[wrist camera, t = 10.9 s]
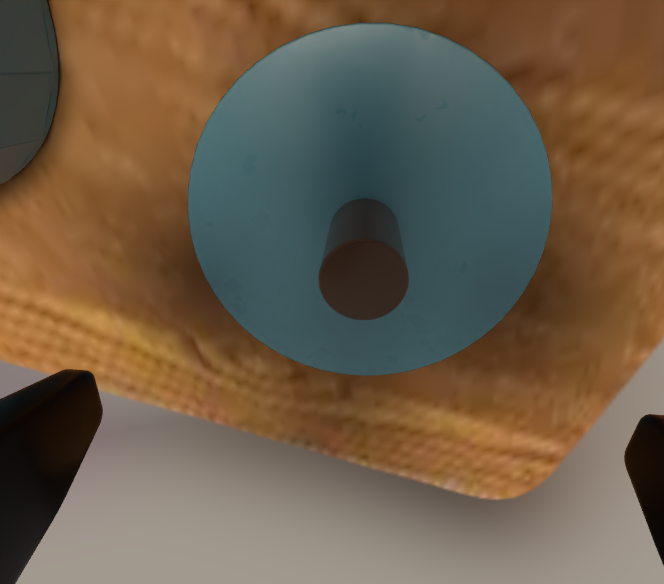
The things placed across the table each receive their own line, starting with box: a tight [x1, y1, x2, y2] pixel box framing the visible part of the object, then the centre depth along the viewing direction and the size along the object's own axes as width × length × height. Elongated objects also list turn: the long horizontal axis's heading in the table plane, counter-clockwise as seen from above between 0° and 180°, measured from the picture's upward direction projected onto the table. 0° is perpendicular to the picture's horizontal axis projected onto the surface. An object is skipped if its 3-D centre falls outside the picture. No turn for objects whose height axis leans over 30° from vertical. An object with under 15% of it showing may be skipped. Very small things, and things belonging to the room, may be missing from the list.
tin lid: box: [188, 23, 552, 376], centre depth 14 cm, size 12×12×5 cm
